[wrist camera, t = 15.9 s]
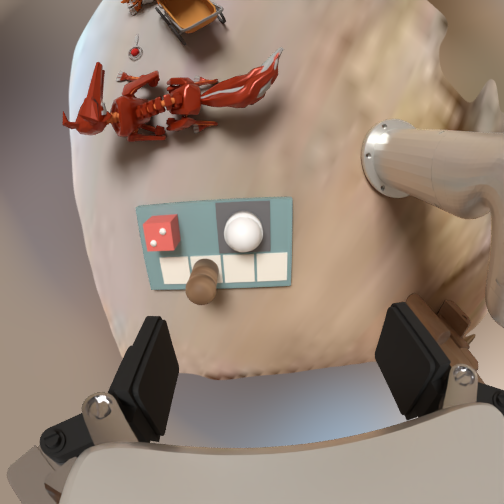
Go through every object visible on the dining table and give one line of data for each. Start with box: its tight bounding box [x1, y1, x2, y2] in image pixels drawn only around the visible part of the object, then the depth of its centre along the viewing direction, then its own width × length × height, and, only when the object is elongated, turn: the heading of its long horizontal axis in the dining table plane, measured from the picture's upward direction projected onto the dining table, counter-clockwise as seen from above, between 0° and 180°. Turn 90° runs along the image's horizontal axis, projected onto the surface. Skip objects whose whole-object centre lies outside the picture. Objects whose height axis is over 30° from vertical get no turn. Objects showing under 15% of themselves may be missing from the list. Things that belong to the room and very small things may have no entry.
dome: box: [224, 211, 263, 252], centre depth 36 cm, size 5×5×5 cm
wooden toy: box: [406, 294, 485, 384], centre depth 36 cm, size 16×7×25 cm, turn 76°
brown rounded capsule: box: [185, 259, 219, 305], centre depth 38 cm, size 4×4×8 cm
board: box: [136, 197, 292, 290], centre depth 39 cm, size 23×14×5 cm, turn 92°
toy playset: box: [63, 0, 283, 142], centre depth 24 cm, size 35×26×14 cm
